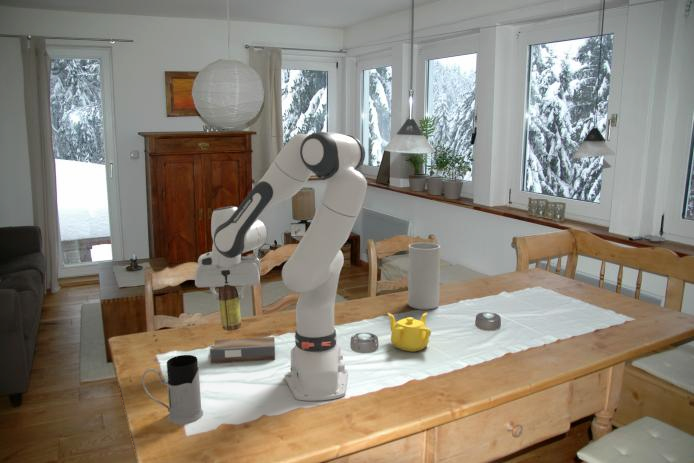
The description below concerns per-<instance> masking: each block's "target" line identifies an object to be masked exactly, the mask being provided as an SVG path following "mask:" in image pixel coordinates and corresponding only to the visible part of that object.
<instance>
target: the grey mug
mask: <svg viewBox="0 0 694 463" xmlns="http://www.w3.org/2000/svg"><path fill="white" fill-rule="evenodd" d="M149 372H155V373H157V375H158V377H159V382H160V384H161V385H167V395H168V405H167V404H166V403H164V402H162V401H160V400H158V399H157V398H155V397H154V396H152V394H150V392H149V391H148V390H147V387H146V385H145V384H146V383H145V380H144V379H145V378H144V377H145V375H146V374H147V373H149ZM166 372H167V381H165V382H164V381H163V380H162V375H161V373H160V371H159V370H157V369H155V368H150V369H149V368H148V369H147V370H146V371H144V372H143V374H142V377H141V378H142V379H141V381H142V383H141V384H142V387H143V389H144V391H145V393H146V394H147V397H149V398H150V399H151V400H153V401H154V402H156V403H158V404H159V405H161V406H163V407H165V408H166V409H167V412H168V413H169V414H168V417H167V419H168V421H169V422H170V423H171V424H175V425H186V424H187V425H188V424H192V423H195V422H197V421H199V420H200V419H201V418H203V416H204V410H203V409H202V401H201V400H202V398H201V387H200V386H201V385H200V384H201V383H200V382H201V381H200V367H199V363H198V357H196V356H195V355H192V354H191V355H190V354H182V355H176V356H173V357H171V358H169V359H168V360H167V361H166Z"/></svg>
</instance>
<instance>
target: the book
mask: <svg viewBox="0 0 694 463" xmlns="http://www.w3.org/2000/svg"><path fill="white" fill-rule="evenodd" d="M264 345H275V336H267V337H266V336H265V337H262V336H261V337H248V338H247V337H246V338H230V339H215V340H214V343H213V348H212V349H215V348H231V347H248V346H264ZM275 346H276V345H275ZM273 360H276V354H275V355H270V356H255V357H239V358H223V359H211V358H210V364H211V365H213V364H227V363H230V364H231V363H242V362H243V363H244V362H259V361H273Z"/></svg>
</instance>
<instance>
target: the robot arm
mask: <svg viewBox="0 0 694 463" xmlns="http://www.w3.org/2000/svg"><path fill="white" fill-rule="evenodd" d="M365 158H366V150H365V147H364V144H363V143H362V142H361V141H360V140H359V138H356V137H354V136H352V135H349V134H342V133H339V132H335V131H334V132H332V131H328V132H325V131H318V132H313V133H311V134H307V133H298V134H295V135H294V136H292V137H291V139H290V140H288V142H286V143H285V145H284V146H283V147H282V148H281V150H280V151H279V152H278V154H277V156H276V157H275V159H274V160H273V161H272V163H271V165H270V166H269V168H268V169H267V171H266V172H265V173H264V175H263V176H262V177H261V179H260V180H259V181H258V182H257V184H255V186H254V187H253V188H252V189H251V191H250V192H248V194H247V196H246V197H245V198H244V199H243V201H242V202H241V203H240V204H239V206H238V207H237V206H235V205H230V206H229V205H227V206H223V207H217V208H216V209H214V210H213V211H212V215H211V219H210V220H211V224H210V229H211V230H210V231H211V238H212V246H211V247H212V248H211V249H212V250H211V251H209V252H206V253H203V254H200V256H198V259H197V264H198V265H197V267H196V270H195V277H194V285H195V286H196V287H197V288H209V291H210V292H211V293H212V295H213V301H219V293H218V292H216V290H215V289H216V288H219V287H222V286H224V285H230V286H235V287H240V286H241V291H240V292H239V291H238V296H239V297H238V299H239V300H243V299H244V293H245V291H246V289H247V286H258V285H259V284H260V283H261V281H260V280H261V277H260V276H261V275H260V269H261V260H260V258H258V257H256V256H255V255H253V256H242V254H244V253H248V252H251V251H253V250H255V249H257V248H260V247H262V246H264V244H266V242H267V239H268V229H267V227H266V224H265V223H264V222H263V221H262V220H261V219H259V218H260V217H261V215H262V214H263V213H265V211H267V210H268V209H270V208H272V206H274V205H277V204H279V203H281V202H283V201H286V200H289V199H291V198H293V197H294V196H295V195H296V194H298V192H299V191H301V190H302V189H303V187H304V186H305V185H306V183H307V182H308V180H309V179H310V177H311V176H312V174H314V175H315V176H316V177H317V178H318V179H319V180H325V181H326V186H325V190H324V193H323V195H322V197H321V199H320V201H319V204H318V206H317V209H316V211H315V214H314V216H313V218H312V220H311V223H310V225H309V226H308V228H307V230H305V233H304V235H302V238H301V239H300V240H299V242H298V244H297V246H296V247H295V250H294V251H293V253H292V254H291V255H290V257H288V258H289V259H287V261H286V262H285V263H284V265H283V267H282V269H281V278H282V281H283V283H284V285H285V286H286V288H288V289H289V290H290V291H292V292H294V293H298V294H299V293H300V295H299V297H298V300H297V303H296V306H295V314H296V316H295V318H296V330H295V332H294V339H295V341H294V342H295V345H294V346H293V348H292V349H291V350H290V371H288V372H285V374H284V377H283V378H284V380H285V381H286V384H287V385H288V387H289V389H290V391H291V393H292V395H293V397H294V398H295V399H296V400H298V401H306V402H307V401H308V402H309V401H310V402H313V401H314V402H315V401H316V402H317V401H318V402H319V401H328V400H334V399H339V398H343V397H344V396H346V392H347V386H348V379H349V378H348V376H349V370H348V369H346V368H345V367H346V366H345V364H344V363H342V360H344V356H343V354H342V352H341V349H342V348H341V346H339V344H337V332H336V328H335V302H336V296H337V292H338V284H339V280H340V273H341V271H342V268H343V266H344V261H345V258H344V254H343V252H342V250H341V249H342V248H343V246H344V245H345V243H346V242H347V240H348V239H349V237H350V235H351V232H352V229H353V228H354V225H355V223H356V221H357V218H358V216H359V213H360V211H361V209H362V206H363V204H364V200H365V196H366V194H367V187H368V180H367V178H366V177H365V175H363V174H362V173H361V172H360V171H359V170H358V169H359V168H360V167H362V165H363V163H364V162H365ZM223 270H229V271H230V274H229V275H227V282H229V283H228V284H225V283H224V282H226V281H225V276H223V275H222V274H221V271H223Z"/></svg>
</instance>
